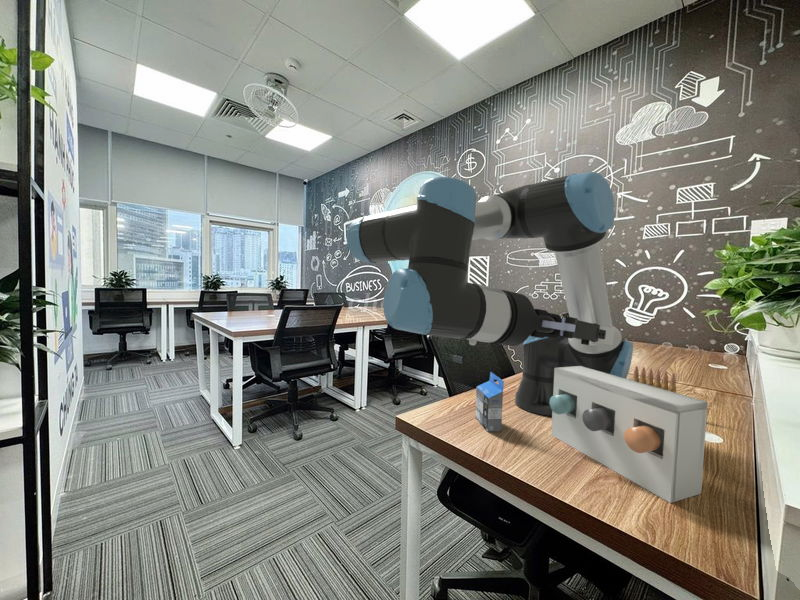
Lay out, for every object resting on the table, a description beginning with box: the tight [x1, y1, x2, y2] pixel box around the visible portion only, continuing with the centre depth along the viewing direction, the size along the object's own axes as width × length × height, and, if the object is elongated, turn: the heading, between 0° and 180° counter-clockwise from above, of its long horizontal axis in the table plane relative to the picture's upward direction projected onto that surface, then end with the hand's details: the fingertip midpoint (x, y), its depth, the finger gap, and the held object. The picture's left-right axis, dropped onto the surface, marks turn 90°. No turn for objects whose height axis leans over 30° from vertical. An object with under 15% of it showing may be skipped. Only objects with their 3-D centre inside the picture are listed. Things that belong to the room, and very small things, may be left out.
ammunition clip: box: [632, 365, 677, 393], centre depth 94 cm, size 11×2×12 cm, turn 36°
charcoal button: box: [582, 408, 612, 431], centre depth 64 cm, size 4×3×4 cm
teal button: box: [550, 394, 575, 414], centre depth 72 cm, size 4×3×4 cm
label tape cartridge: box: [474, 371, 505, 433], centre depth 81 cm, size 9×4×12 cm, turn 6°
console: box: [550, 366, 708, 504], centre depth 65 cm, size 25×8×16 cm, turn 20°
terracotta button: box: [624, 426, 660, 453], centre depth 56 cm, size 4×3×4 cm
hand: (609, 336), depth 53 cm, fingers closed
